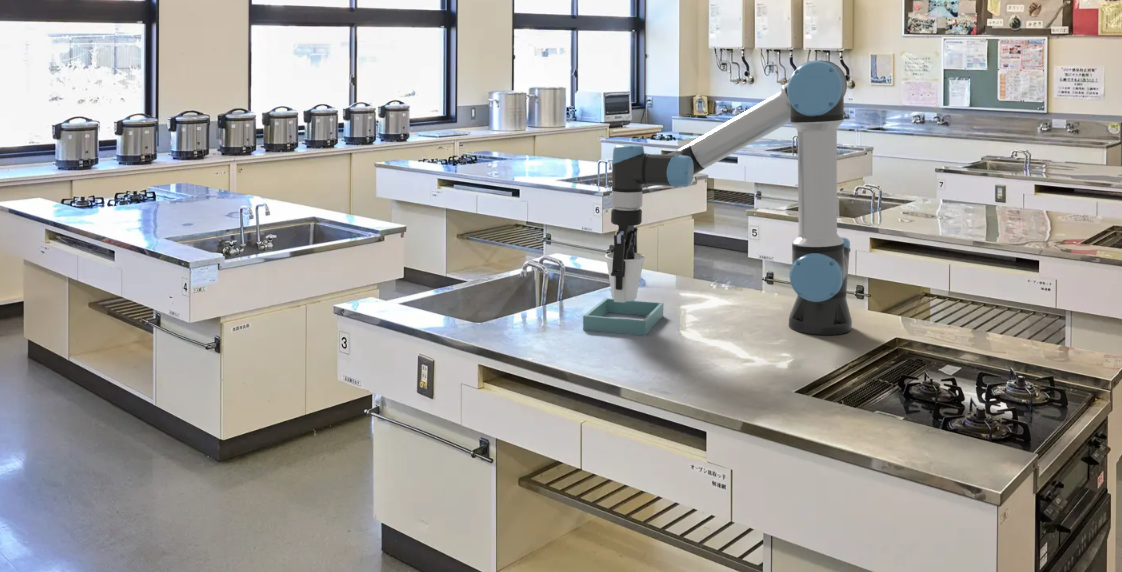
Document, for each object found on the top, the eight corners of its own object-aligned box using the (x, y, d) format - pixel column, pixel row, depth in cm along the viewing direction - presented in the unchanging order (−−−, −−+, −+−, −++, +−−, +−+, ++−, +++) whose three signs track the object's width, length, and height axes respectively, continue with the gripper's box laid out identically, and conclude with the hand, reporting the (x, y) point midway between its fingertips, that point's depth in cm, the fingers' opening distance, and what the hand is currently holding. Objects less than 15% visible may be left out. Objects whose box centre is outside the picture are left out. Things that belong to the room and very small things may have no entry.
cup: (641, 304, 243) (642, 260, 240) (601, 302, 245) (602, 258, 242) (646, 295, 252) (647, 253, 250) (607, 293, 254) (608, 251, 252)
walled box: (663, 316, 257) (663, 302, 256) (645, 335, 239) (645, 321, 238) (605, 311, 261) (605, 298, 261) (583, 329, 243) (583, 315, 243)
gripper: (622, 201, 254) (620, 287, 259) (599, 213, 235) (597, 306, 240) (651, 203, 252) (648, 290, 257) (630, 215, 233) (628, 308, 238)
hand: (624, 297), depth 249 cm, fingers closed on cup, 8 cm apart
